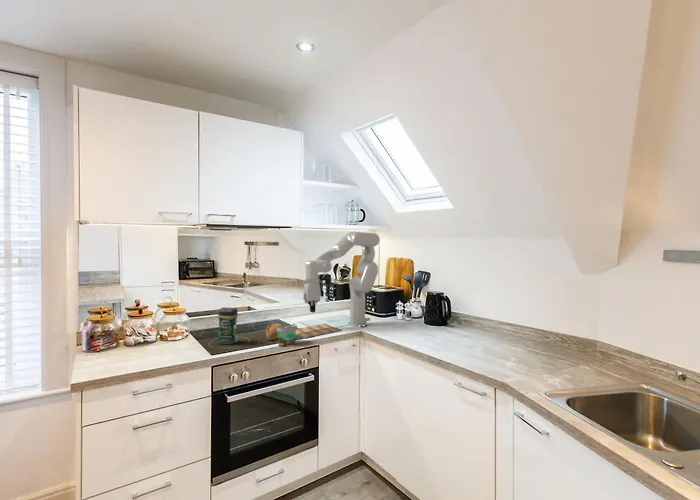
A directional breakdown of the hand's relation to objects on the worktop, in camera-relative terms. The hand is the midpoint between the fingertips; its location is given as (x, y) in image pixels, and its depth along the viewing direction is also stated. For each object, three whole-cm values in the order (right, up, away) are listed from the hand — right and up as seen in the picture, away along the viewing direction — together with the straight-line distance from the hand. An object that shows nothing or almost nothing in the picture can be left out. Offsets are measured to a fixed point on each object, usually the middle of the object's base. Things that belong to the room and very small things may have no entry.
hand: (312, 311), depth 215 cm
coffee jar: (-42, -12, -26) cm, 51 cm away
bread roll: (-19, -12, -15) cm, 27 cm away
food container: (-9, -13, -29) cm, 32 cm away
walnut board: (+5, -12, -7) cm, 15 cm away
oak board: (-1, -11, 0) cm, 11 cm away
